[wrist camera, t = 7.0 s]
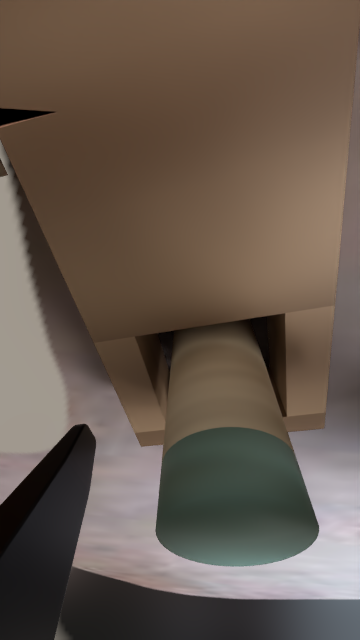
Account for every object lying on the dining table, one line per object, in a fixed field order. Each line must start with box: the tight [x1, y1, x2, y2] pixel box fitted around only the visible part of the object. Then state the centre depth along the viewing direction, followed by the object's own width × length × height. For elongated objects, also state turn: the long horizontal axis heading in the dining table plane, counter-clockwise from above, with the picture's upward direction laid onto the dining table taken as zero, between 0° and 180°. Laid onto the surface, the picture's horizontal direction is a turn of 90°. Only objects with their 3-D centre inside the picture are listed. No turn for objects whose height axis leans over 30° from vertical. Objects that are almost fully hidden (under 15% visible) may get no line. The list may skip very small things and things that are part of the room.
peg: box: [156, 319, 319, 566], centre depth 10 cm, size 4×4×8 cm
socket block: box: [0, 0, 360, 447], centre depth 9 cm, size 16×8×3 cm, turn 12°
